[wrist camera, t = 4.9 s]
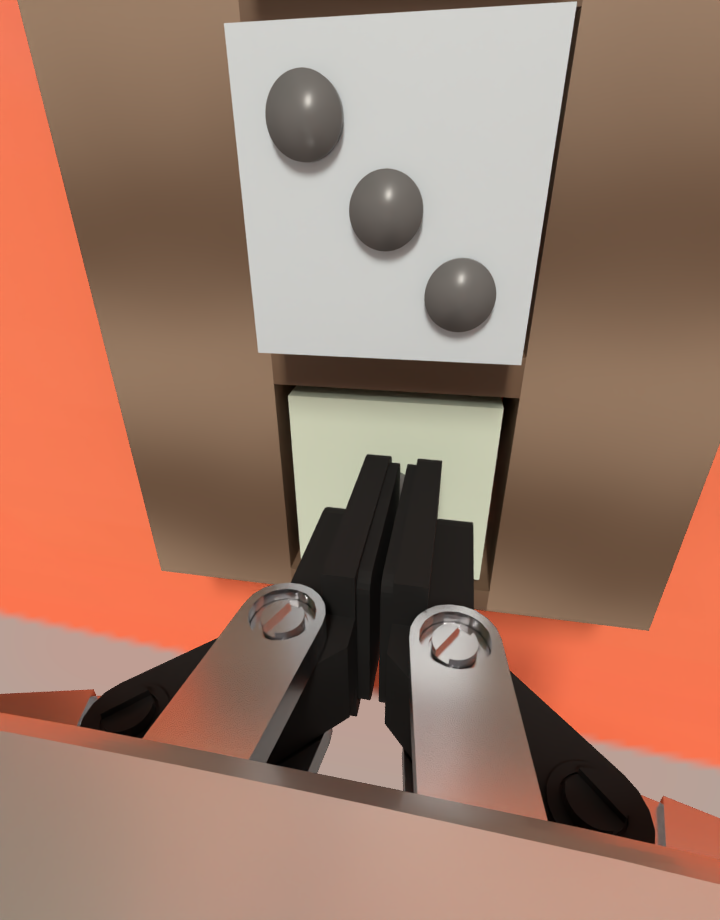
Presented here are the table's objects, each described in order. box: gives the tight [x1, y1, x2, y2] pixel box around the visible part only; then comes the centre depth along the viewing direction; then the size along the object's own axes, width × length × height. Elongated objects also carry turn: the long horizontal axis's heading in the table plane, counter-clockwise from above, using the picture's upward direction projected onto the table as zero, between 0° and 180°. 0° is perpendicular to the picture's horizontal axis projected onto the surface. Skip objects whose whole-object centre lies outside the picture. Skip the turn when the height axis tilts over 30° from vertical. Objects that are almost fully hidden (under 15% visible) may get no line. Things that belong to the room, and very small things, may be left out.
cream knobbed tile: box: [288, 385, 504, 580], centre depth 14 cm, size 5×5×3 cm
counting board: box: [17, 0, 720, 631], centre depth 11 cm, size 20×14×3 cm
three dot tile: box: [224, 1, 577, 365], centre depth 9 cm, size 5×5×3 cm
